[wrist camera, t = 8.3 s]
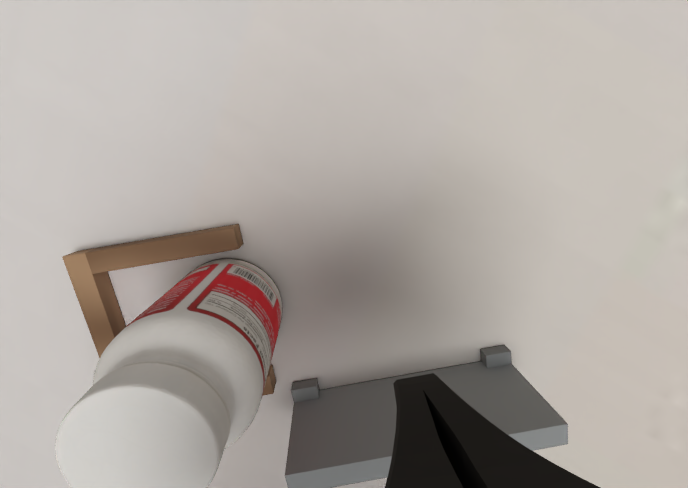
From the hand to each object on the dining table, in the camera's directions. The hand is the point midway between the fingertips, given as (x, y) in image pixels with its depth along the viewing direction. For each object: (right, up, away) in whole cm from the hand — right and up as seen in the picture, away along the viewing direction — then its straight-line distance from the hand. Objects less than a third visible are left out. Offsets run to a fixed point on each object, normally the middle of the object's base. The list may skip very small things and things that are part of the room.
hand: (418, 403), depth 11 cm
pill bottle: (-9, +1, +10) cm, 14 cm away
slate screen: (+1, -4, +12) cm, 13 cm away
